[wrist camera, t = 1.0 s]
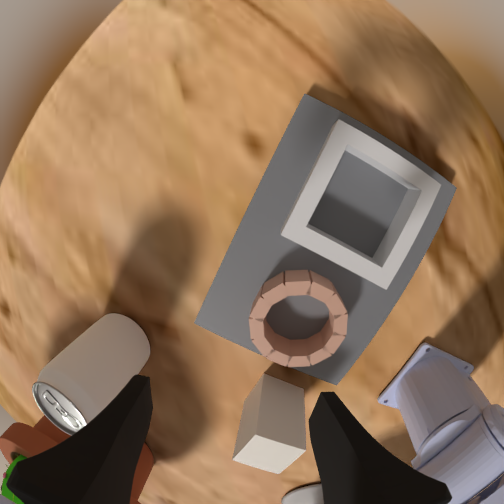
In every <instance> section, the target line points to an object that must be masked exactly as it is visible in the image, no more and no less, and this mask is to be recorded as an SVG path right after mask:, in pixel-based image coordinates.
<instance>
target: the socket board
mask: <svg viewBox="0 0 504 504" xmlns="http://www.w3.org/2000/svg"><path fill="white" fill-rule="evenodd" d="M455 191H456V187H455V186H454V185H452V184H451V183H450V182H449V181H447V180H446V179H445V178H444V177H442V176H441V175H440V174H438V173H437V172H436V171H434V170H433V169H432V168H430V167H429V166H427V165H426V164H425V163H423V162H422V161H421V160H419V159H418V158H416V157H415V156H413V155H412V154H410V153H409V152H407V151H406V150H404V149H403V148H401V147H400V146H398V145H397V144H395V143H394V142H392V141H391V140H389V139H387V138H386V137H384V136H383V135H381V134H379V133H378V132H376V131H374V130H373V129H371V128H369V127H368V126H366V125H364V124H362V123H361V122H359V121H357V120H355V119H354V118H352V117H350V116H348V115H346V114H344V113H343V112H341V111H339V110H337V109H335V108H333V107H331V106H329V105H327V104H325V103H323V102H321V101H319V100H317V99H315V98H313V97H311V96H309V95H307V94H304V96H303V98H302V100H301V101H300V103H299V105H298V107H297V109H296V111H295V113H294V115H293V117H292V119H291V121H290V123H289V125H288V127H287V129H286V131H285V133H284V135H283V137H282V139H281V141H280V143H279V145H278V147H277V149H276V151H275V153H274V155H273V157H272V159H271V161H270V163H269V165H268V167H267V169H266V171H265V173H264V175H263V177H262V180H261V182H260V184H259V186H258V188H257V190H256V192H255V194H254V196H253V198H252V200H251V202H250V204H249V206H248V208H247V211H246V213H245V215H244V217H243V219H242V221H241V223H240V225H239V227H238V229H237V231H236V234H235V236H234V238H233V240H232V242H231V244H230V246H229V248H228V251H227V253H226V255H225V257H224V259H223V261H222V263H221V266H220V268H219V270H218V272H217V274H216V276H215V278H214V281H213V283H212V285H211V287H210V289H209V291H208V294H207V296H206V298H205V300H204V302H203V305H202V307H201V309H200V311H199V313H198V316H197V318H196V320H195V322H194V323H195V324H197V325H199V326H201V327H203V328H205V329H207V330H209V331H211V332H213V333H215V334H217V335H219V336H221V337H223V338H225V339H227V340H230V341H232V342H234V343H236V344H238V345H240V346H242V347H245V348H247V349H249V350H251V351H253V352H256V353H258V354H260V355H263V356H264V357H266V359H269V360H271V361H273V362H276V363H278V364H280V365H283V366H285V367H286V366H288V367H291V368H293V369H296V370H298V371H301V372H303V373H306V374H308V375H311V376H313V377H316V378H318V379H321V380H324V381H326V382H329V383H332V384H334V385H337V384H338V383H339V382H340V381H341V379H342V378H343V377H344V376H345V374H346V373H347V372H348V371H349V369H350V368H351V367H352V365H353V364H354V363H355V362H356V360H357V359H358V358H359V356H360V355H361V354H362V352H363V351H364V349H365V348H366V347H367V345H368V344H369V343H370V341H371V340H372V338H373V337H374V336H375V334H376V333H377V331H378V330H379V328H380V327H381V325H382V324H383V323H384V321H385V320H386V318H387V317H388V315H389V314H390V312H391V310H392V309H393V307H394V306H395V304H396V303H397V301H398V299H399V298H400V296H401V295H402V293H403V291H404V290H405V288H406V286H407V285H408V283H409V281H410V280H411V278H412V276H413V275H414V273H415V271H416V269H417V268H418V266H419V264H420V262H421V260H422V259H423V257H424V255H425V253H426V251H427V249H428V248H429V246H430V244H431V242H432V240H433V238H434V236H435V234H436V232H437V230H438V228H439V226H440V224H441V222H442V220H443V218H444V215H445V213H446V211H447V209H448V207H449V205H450V202H451V200H452V198H453V196H454V193H455Z"/></svg>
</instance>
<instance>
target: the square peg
mask: <svg viewBox="0 0 504 504" xmlns="http://www.w3.org/2000/svg"><path fill="white" fill-rule="evenodd" d="M305 451H306V428H305V404H304V389H303V388H300V387H297V386H295V385H292V384H290V383H287V382H285V381H282V380H280V379H277V378H275V377H272V376H270V375H267V374H265V373H263V375H262V376H261V378H260V379H259V381H258V382H257V384H256V385H255V387H254V388H253V389H252V391H251V392H250V394H249V395H248V397H247V398H246V399H245V401H244V406H243V410H242V415H241V420H240V425H239V430H238V435H237V439H236V444H235V449H234V453H233V458H232V460H234V461H237V462H240V463H243V464H246V465H249V466H252V467H255V468H259V469H262V470H266V471H269V472H273V473H276V474H279V473H281V472H282V471H283V470H284V469H285V468H287V467H288V466H289V465H290V464H291V463H292V462H294V461H295V460H296V459H297V458H298V457H299V456H300V455H302V454H303V453H304V452H305Z"/></svg>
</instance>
